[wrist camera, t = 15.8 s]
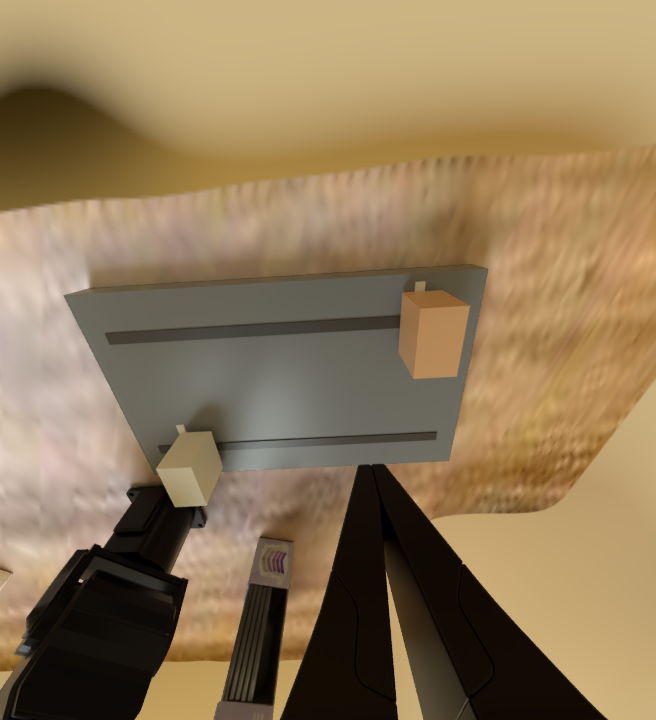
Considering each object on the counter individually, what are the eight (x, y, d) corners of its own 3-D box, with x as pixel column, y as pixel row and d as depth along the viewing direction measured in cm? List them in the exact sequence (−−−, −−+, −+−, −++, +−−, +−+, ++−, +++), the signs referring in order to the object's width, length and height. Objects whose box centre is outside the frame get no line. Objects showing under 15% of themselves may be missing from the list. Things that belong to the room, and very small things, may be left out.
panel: (440, 443, 25) (449, 461, 23) (166, 457, 25) (154, 475, 24) (471, 264, 18) (489, 269, 16) (89, 288, 18) (61, 295, 16)
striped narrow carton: (256, 529, 31) (182, 847, 15) (298, 535, 31) (271, 847, 16) (241, 605, 39) (184, 860, 24) (275, 609, 40) (242, 860, 24)
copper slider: (434, 350, 18) (456, 376, 15) (398, 352, 18) (413, 379, 15) (442, 289, 16) (470, 305, 13) (402, 292, 16) (420, 308, 13)
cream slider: (223, 467, 23) (206, 505, 20) (195, 468, 23) (174, 507, 20) (211, 431, 21) (191, 467, 18) (181, 432, 21) (155, 469, 18)
